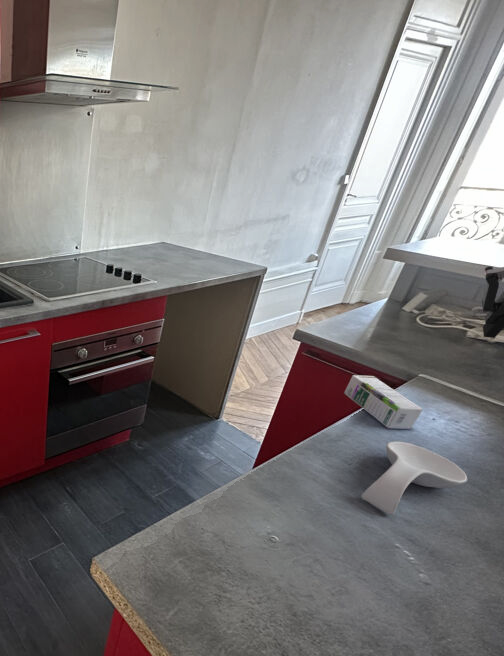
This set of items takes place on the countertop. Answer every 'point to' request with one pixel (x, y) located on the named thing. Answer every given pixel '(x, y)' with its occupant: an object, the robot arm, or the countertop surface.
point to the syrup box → (382, 402)
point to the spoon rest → (411, 474)
